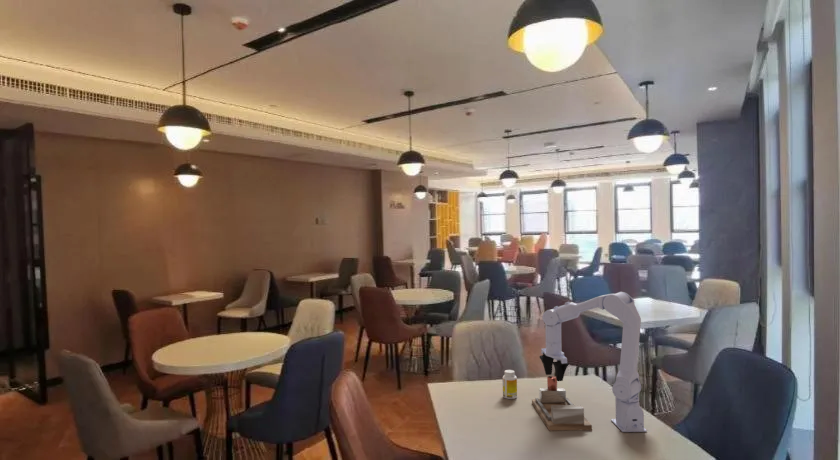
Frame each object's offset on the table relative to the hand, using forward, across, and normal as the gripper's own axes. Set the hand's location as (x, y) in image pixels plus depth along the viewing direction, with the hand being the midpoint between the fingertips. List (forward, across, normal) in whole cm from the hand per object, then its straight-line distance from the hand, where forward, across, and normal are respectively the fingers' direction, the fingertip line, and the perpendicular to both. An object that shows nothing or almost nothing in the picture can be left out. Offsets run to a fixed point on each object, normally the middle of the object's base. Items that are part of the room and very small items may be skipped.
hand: (554, 377), depth 175 cm
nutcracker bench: (+10, -9, +3) cm, 14 cm away
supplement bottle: (+11, +13, +12) cm, 21 cm away
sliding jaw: (+9, 0, +1) cm, 9 cm away
